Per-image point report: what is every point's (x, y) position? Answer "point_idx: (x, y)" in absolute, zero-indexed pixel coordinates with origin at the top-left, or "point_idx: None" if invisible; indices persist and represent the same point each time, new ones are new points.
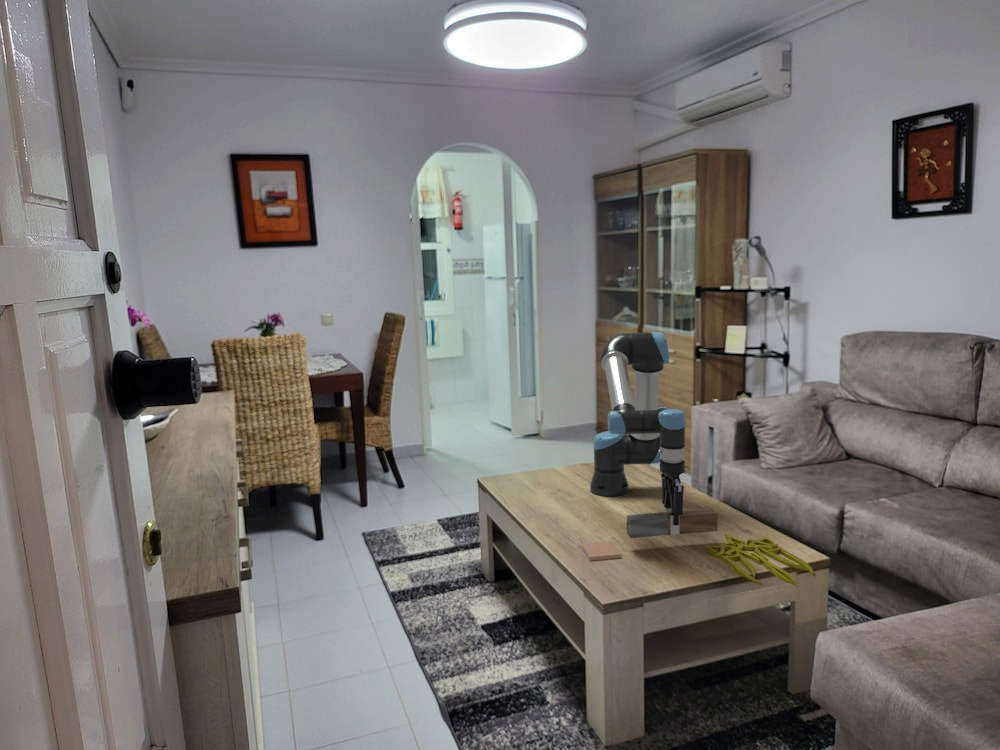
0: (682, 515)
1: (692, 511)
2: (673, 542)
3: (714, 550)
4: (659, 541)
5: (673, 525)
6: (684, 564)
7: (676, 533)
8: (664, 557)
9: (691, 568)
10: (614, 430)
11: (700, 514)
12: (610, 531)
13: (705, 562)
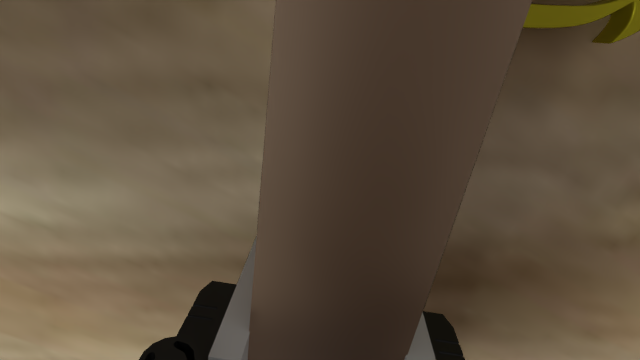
0: (413, 315)
1: (335, 123)
2: None
3: (585, 11)
4: (254, 227)
5: None
6: (568, 253)
7: None
8: (444, 293)
9: (630, 246)
10: None
11: (507, 61)
12: (91, 355)
13: (625, 141)
